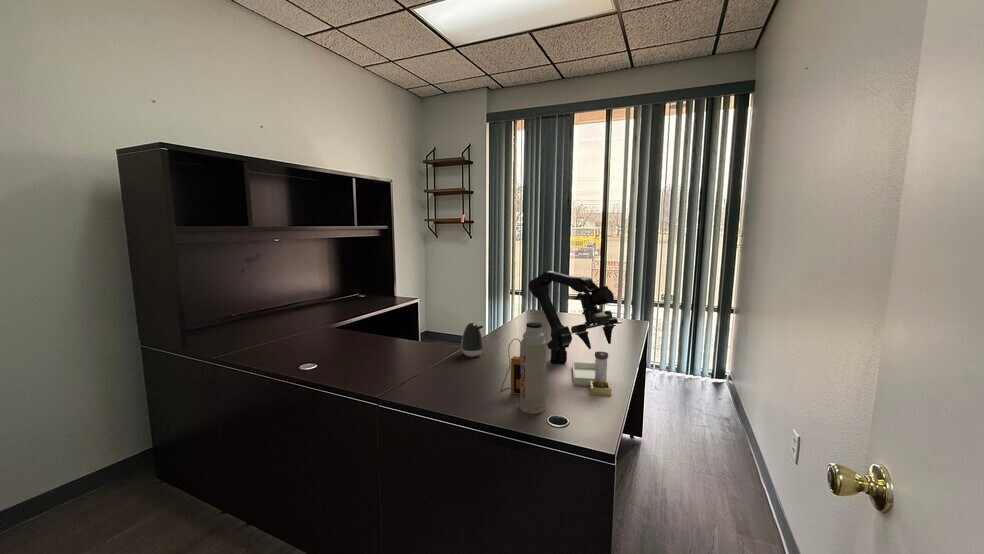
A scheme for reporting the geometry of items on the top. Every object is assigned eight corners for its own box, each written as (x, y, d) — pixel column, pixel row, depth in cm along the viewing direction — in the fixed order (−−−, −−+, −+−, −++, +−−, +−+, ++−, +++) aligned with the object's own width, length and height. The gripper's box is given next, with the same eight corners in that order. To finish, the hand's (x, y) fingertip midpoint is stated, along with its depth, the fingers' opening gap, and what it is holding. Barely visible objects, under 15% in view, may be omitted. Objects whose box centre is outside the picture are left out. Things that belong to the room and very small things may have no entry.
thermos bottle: (522, 414, 122) (523, 326, 119) (518, 403, 130) (519, 320, 127) (547, 413, 123) (549, 326, 120) (541, 402, 131) (543, 320, 127)
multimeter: (546, 387, 143) (547, 334, 141) (541, 398, 134) (542, 341, 131) (508, 382, 148) (508, 331, 146) (500, 392, 138) (500, 337, 136)
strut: (594, 393, 138) (595, 355, 137) (592, 388, 143) (594, 351, 141) (607, 394, 138) (609, 355, 136) (605, 389, 142) (607, 351, 140)
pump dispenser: (478, 359, 174) (478, 326, 172) (457, 357, 178) (457, 324, 176) (486, 353, 183) (487, 321, 182) (466, 350, 187) (466, 319, 185)
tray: (573, 385, 146) (574, 377, 145) (572, 368, 163) (572, 361, 163) (602, 387, 144) (602, 379, 143) (597, 370, 162) (597, 363, 161)
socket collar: (591, 394, 137) (591, 387, 137) (589, 386, 144) (589, 380, 144) (611, 395, 136) (611, 389, 136) (608, 388, 143) (609, 381, 143)
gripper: (579, 309, 147) (590, 351, 145) (621, 300, 153) (631, 340, 151) (566, 313, 157) (575, 351, 155) (605, 304, 163) (615, 341, 161)
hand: (600, 346), depth 155 cm, fingers open, 9 cm apart
